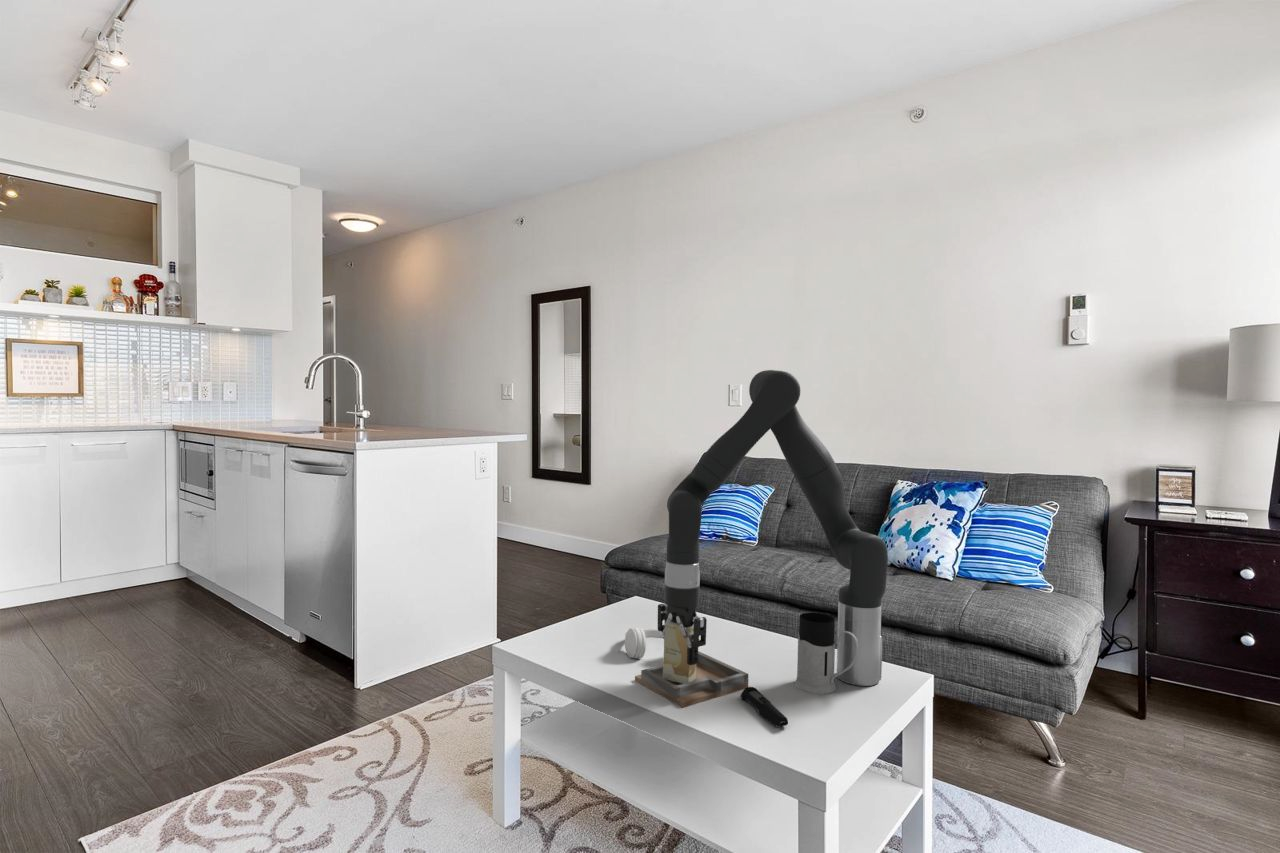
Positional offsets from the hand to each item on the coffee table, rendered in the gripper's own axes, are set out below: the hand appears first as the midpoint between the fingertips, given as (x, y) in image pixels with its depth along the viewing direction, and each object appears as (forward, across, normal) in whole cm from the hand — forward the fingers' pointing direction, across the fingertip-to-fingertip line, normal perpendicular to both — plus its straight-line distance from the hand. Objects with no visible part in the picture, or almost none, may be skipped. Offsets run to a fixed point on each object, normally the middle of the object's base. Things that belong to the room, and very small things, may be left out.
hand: (680, 658), depth 144 cm
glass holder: (+6, -18, -26) cm, 32 cm away
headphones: (+7, +21, -10) cm, 24 cm away
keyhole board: (+6, 0, -3) cm, 7 cm away
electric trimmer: (+7, -19, -7) cm, 21 cm away
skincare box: (+5, 0, 0) cm, 5 cm away
